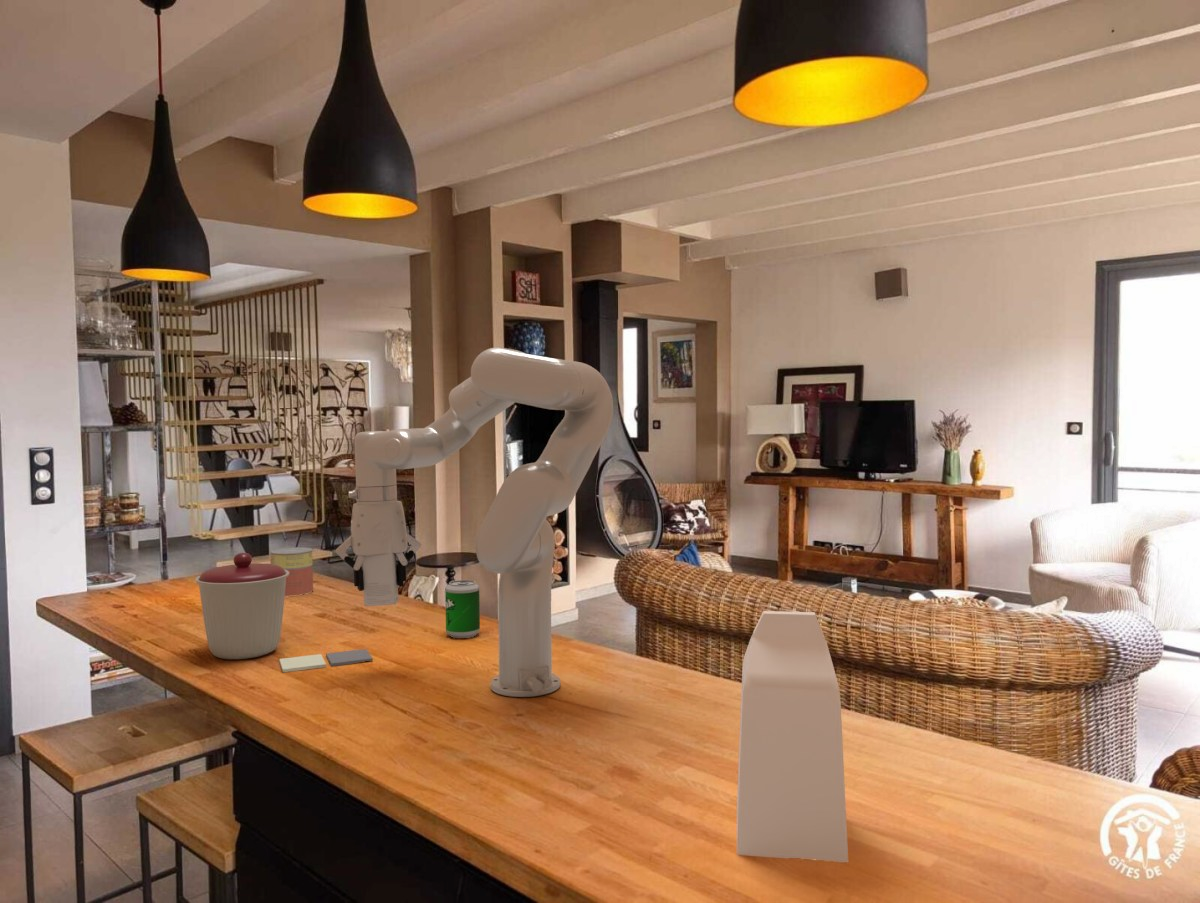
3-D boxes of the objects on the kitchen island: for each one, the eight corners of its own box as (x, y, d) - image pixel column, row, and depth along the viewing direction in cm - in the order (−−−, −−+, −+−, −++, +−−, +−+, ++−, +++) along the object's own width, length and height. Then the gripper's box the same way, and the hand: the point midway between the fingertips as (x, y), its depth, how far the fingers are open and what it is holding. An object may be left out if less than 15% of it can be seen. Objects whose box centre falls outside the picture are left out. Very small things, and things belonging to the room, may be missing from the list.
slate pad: (372, 661, 172) (372, 658, 172) (331, 666, 169) (331, 663, 169) (365, 651, 180) (365, 648, 180) (326, 656, 176) (326, 653, 176)
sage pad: (326, 667, 169) (326, 664, 169) (282, 672, 165) (282, 669, 165) (321, 656, 176) (321, 654, 176) (279, 661, 173) (279, 658, 172)
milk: (736, 854, 96) (736, 623, 94) (736, 808, 107) (736, 600, 106) (848, 862, 94) (849, 626, 93) (836, 814, 105) (837, 603, 104)
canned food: (318, 588, 248) (317, 546, 247) (307, 596, 236) (306, 553, 236) (278, 589, 247) (277, 547, 246) (265, 597, 236) (264, 553, 235)
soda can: (483, 631, 196) (482, 579, 195) (475, 640, 188) (474, 586, 188) (451, 631, 197) (450, 579, 196) (441, 639, 189) (441, 585, 189)
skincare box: (398, 601, 168) (396, 539, 168) (395, 605, 163) (393, 542, 163) (366, 602, 167) (364, 540, 167) (362, 607, 163) (360, 543, 162)
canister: (211, 671, 166) (208, 563, 166) (186, 652, 180) (184, 552, 179) (303, 654, 178) (301, 553, 177) (273, 637, 192) (271, 543, 191)
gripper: (332, 499, 158) (336, 596, 158) (426, 493, 165) (429, 585, 165) (327, 497, 164) (331, 589, 165) (417, 491, 172) (420, 580, 172)
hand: (380, 586), depth 165 cm, fingers closed on skincare box, 6 cm apart
